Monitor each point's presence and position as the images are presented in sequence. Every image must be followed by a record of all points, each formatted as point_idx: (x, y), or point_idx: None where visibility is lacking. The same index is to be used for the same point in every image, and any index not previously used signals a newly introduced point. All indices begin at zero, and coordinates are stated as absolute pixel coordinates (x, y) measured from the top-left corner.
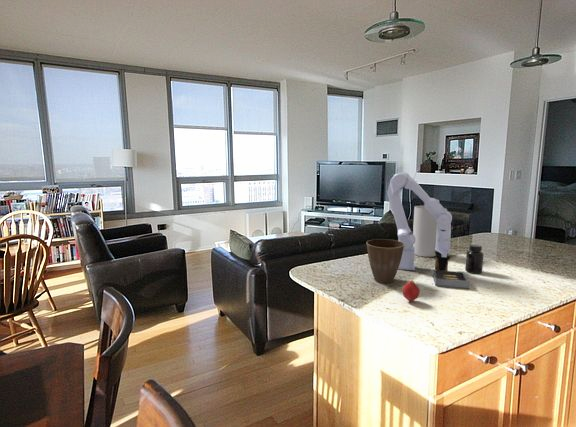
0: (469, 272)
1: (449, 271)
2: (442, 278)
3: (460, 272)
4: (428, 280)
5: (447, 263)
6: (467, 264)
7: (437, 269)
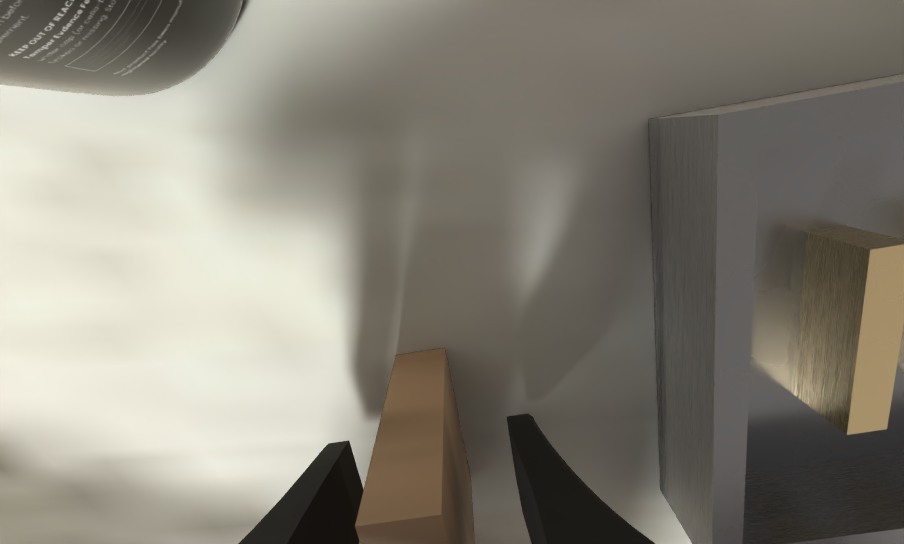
0: (237, 16)
1: (744, 369)
2: (783, 396)
3: (753, 182)
4: None
5: (444, 461)
6: (109, 35)
7: (469, 492)
